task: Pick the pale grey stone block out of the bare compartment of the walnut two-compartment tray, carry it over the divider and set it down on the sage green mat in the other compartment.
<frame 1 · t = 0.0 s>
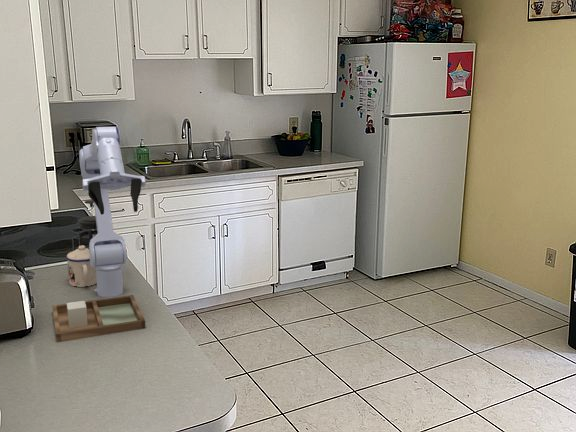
hand: (119, 210, 139), 32 cm above the counter, tool tilted 50°, fingers open, 7 cm apart
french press: (94, 270, 192), on the counter
stone block: (77, 323, 151), point 1 cm above the counter, touching sorting tray
sorting tray: (98, 323, 153), on the counter
teacup with lid: (84, 284, 180), on the counter
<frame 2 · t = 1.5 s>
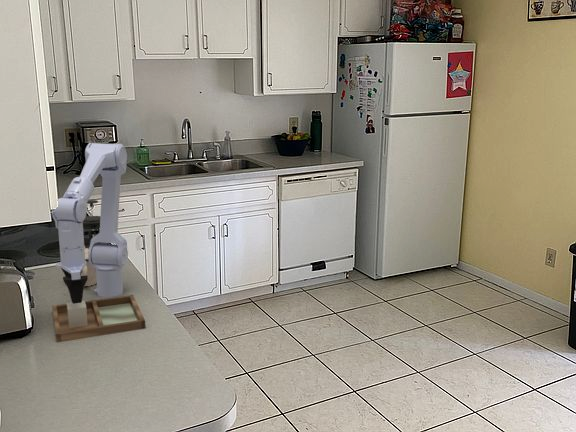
hand: (75, 297, 149), 8 cm above the counter, tool pointing down, fingers open, 7 cm apart
nothing on the counter moved.
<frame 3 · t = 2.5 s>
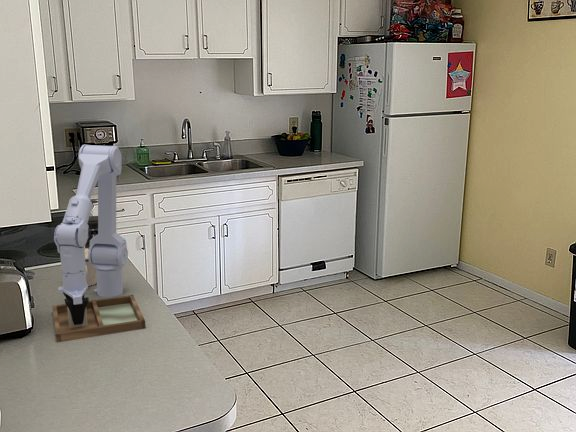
hand: (77, 319, 151), 2 cm above the counter, tool pointing down, fingers closed on stone block, 4 cm apart
stone block: (77, 323, 151), point 1 cm above the counter, touching gripper, sorting tray
everything else where it was.
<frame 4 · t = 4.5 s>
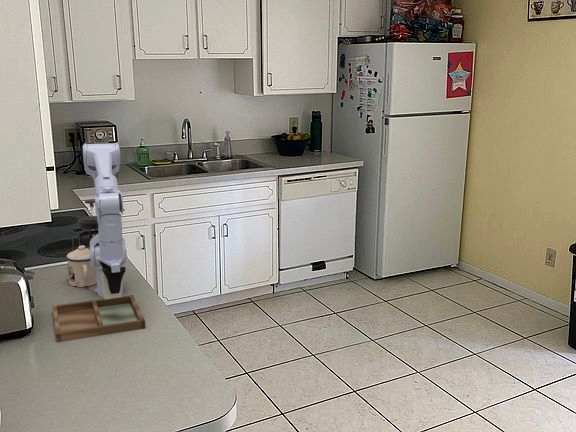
hand: (113, 289, 153), 9 cm above the counter, tool pointing down, fingers closed on stone block, 4 cm apart
stone block: (112, 294, 153), point 7 cm above the counter, touching gripper
everything else where it was.
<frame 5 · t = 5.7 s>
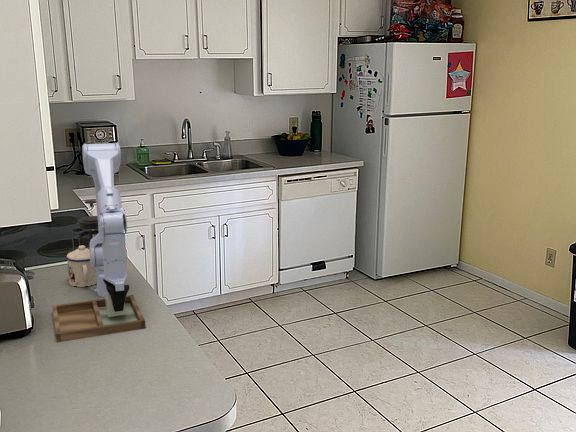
hand: (117, 307, 154), 4 cm above the counter, tool pointing down, fingers closed on stone block, 4 cm apart
stone block: (115, 312, 155), point 2 cm above the counter, touching gripper
everything else where it was.
when the fingers open (4 cm above the counter, at t = 6.4 s): stone block drops 1 cm, resting on sorting tray.
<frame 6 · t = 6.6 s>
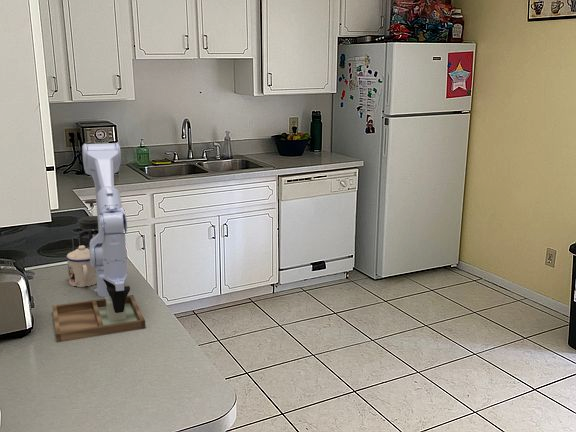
hand: (117, 307, 154), 4 cm above the counter, tool pointing down, fingers open, 6 cm apart
stone block: (116, 316, 155), point 1 cm above the counter, touching sorting tray
everything else where it was.
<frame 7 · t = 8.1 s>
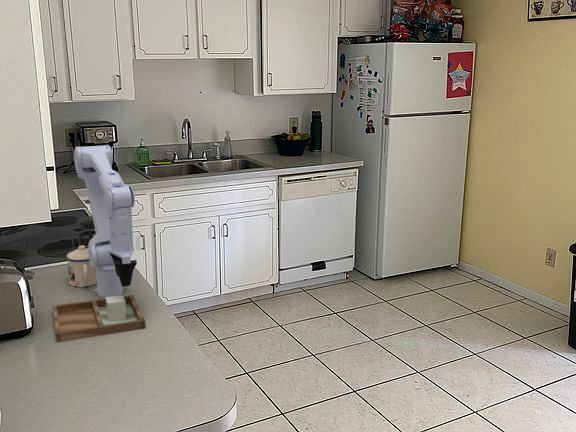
hand: (123, 280, 157), 9 cm above the counter, tool pointing down, fingers open, 7 cm apart
nothing on the counter moved.
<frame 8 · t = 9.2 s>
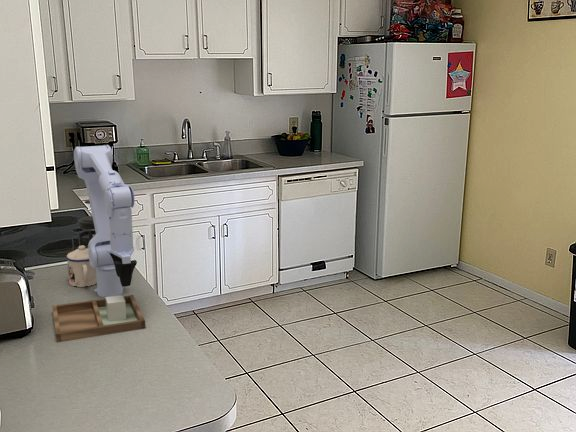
hand: (123, 280, 157), 9 cm above the counter, tool pointing down, fingers open, 7 cm apart
nothing on the counter moved.
at the end: stone block inside the target area on the sorting tray (0.9 cm from its centre), point 1.2 cm above the sorting tray's base; stone block tilted 0°; the gripper is holding nothing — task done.
